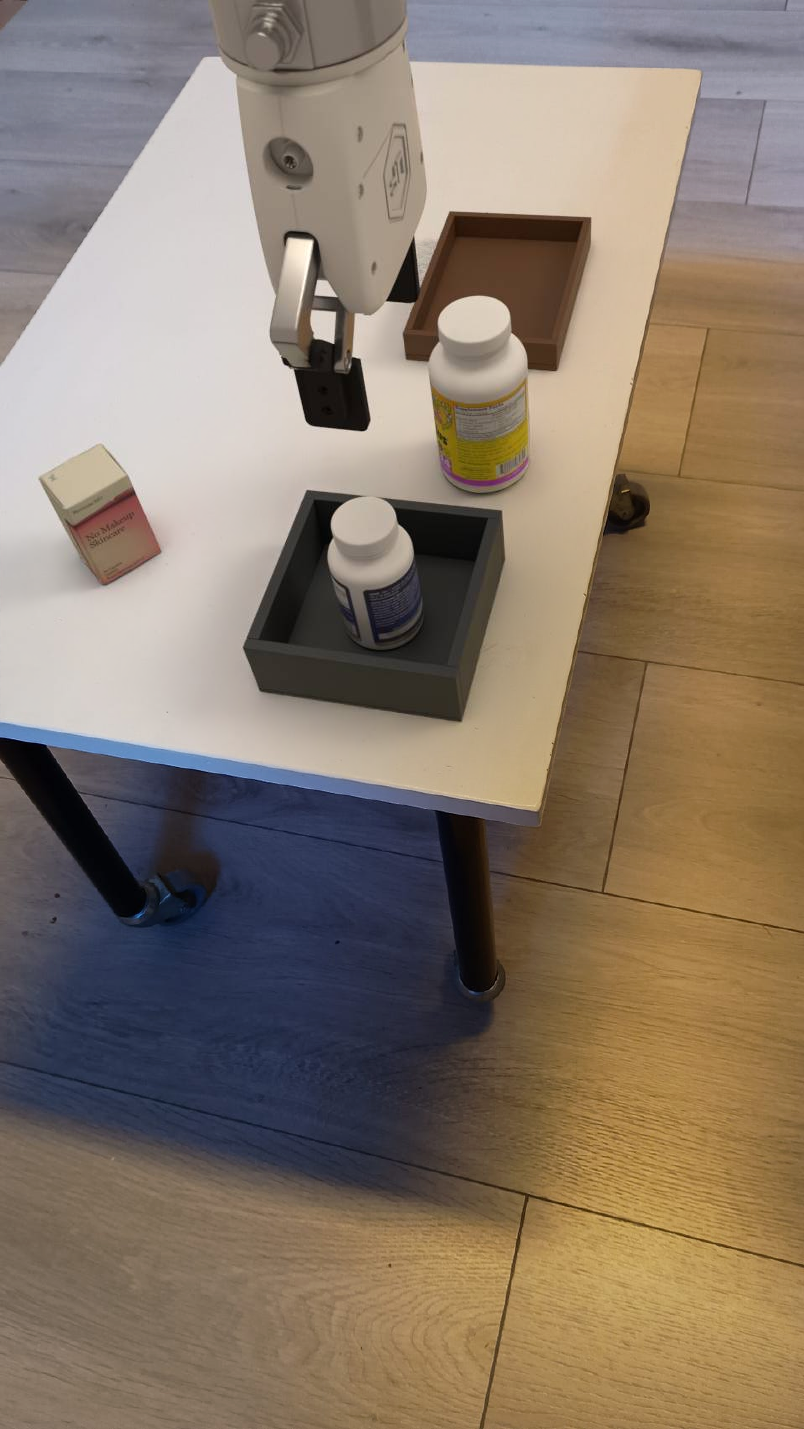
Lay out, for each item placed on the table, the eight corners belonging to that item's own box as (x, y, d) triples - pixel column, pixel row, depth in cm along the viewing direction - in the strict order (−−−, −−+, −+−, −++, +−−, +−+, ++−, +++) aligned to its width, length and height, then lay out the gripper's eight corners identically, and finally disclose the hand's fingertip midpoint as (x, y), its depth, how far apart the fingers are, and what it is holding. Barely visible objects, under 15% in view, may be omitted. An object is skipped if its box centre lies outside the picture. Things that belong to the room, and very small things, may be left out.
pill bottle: (435, 597, 75) (420, 494, 67) (409, 660, 72) (390, 560, 64) (361, 583, 76) (337, 480, 68) (333, 643, 74) (305, 545, 66)
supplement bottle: (446, 432, 84) (429, 284, 73) (533, 432, 83) (530, 283, 72) (435, 497, 80) (416, 352, 70) (526, 498, 79) (521, 351, 69)
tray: (451, 237, 97) (449, 210, 95) (590, 243, 95) (591, 216, 92) (405, 359, 89) (402, 333, 87) (556, 370, 86) (556, 344, 84)
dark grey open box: (319, 537, 80) (306, 489, 76) (505, 558, 77) (502, 509, 73) (259, 691, 73) (242, 647, 69) (461, 722, 70) (455, 678, 66)
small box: (104, 587, 79) (62, 510, 73) (77, 554, 82) (35, 476, 75) (164, 552, 81) (129, 472, 74) (136, 519, 83) (100, 440, 76)
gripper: (336, 125, 37) (393, 489, 51) (454, -107, 46) (475, 259, 60) (132, 117, 39) (242, 472, 53) (284, -106, 48) (343, 250, 62)
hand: (366, 358), depth 57 cm, fingers open, 9 cm apart
